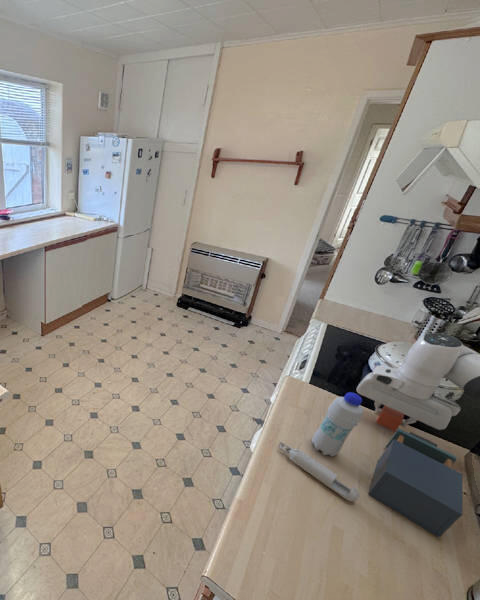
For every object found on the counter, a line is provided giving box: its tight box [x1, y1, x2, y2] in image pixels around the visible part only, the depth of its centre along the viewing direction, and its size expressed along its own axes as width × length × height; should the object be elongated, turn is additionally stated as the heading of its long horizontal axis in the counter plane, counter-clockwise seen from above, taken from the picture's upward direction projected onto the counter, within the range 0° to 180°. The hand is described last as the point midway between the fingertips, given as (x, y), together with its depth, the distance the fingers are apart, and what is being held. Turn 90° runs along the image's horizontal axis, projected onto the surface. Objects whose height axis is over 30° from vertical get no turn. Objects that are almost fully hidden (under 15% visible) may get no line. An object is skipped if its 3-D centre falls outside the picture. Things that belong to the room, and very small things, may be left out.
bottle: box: [311, 391, 364, 457], centre depth 86 cm, size 7×7×20 cm
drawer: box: [385, 427, 458, 469], centre depth 84 cm, size 18×11×7 cm, turn 132°
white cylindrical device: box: [277, 441, 360, 502], centre depth 81 cm, size 18×5×6 cm, turn 37°
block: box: [375, 405, 405, 432], centre depth 98 cm, size 5×5×5 cm
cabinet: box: [367, 439, 463, 538], centre depth 77 cm, size 15×13×9 cm
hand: (388, 419), depth 99 cm, fingers closed on block, 4 cm apart
